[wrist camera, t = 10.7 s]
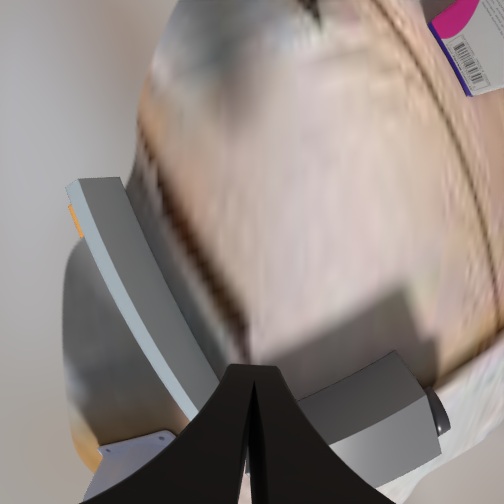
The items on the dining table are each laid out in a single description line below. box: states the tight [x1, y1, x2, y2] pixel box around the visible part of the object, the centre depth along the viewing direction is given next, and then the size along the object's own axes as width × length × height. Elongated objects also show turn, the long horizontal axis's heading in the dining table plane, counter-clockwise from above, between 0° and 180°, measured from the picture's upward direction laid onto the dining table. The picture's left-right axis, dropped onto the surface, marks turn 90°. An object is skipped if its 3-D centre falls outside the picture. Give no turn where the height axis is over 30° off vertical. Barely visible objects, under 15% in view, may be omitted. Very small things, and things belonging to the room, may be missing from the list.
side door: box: [66, 177, 220, 422], centre depth 15 cm, size 18×1×4 cm, turn 22°
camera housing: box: [245, 350, 451, 488], centre depth 17 cm, size 13×8×6 cm, turn 121°
